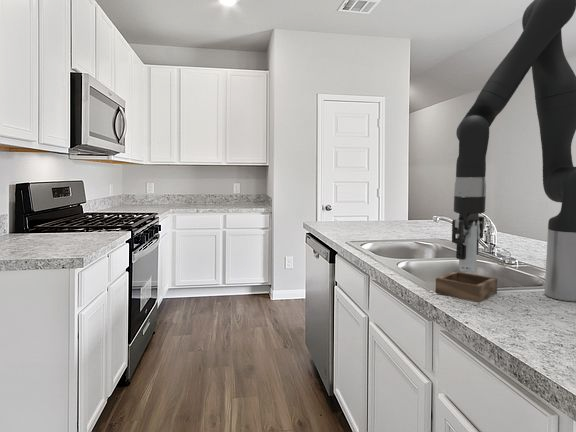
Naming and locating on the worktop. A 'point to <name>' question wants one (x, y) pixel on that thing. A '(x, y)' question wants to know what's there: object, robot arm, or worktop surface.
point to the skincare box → (470, 252)
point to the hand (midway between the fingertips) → (467, 256)
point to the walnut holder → (466, 286)
